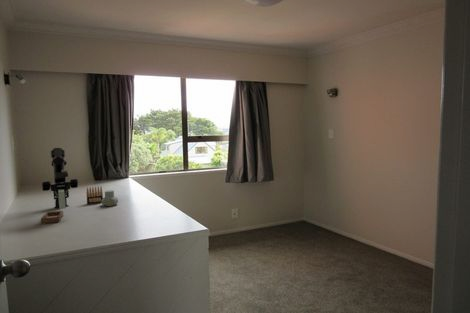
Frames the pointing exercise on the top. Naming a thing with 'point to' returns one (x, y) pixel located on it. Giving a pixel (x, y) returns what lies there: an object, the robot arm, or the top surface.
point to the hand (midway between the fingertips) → (61, 196)
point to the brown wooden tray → (52, 217)
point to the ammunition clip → (94, 195)
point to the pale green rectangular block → (61, 198)
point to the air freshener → (109, 198)
